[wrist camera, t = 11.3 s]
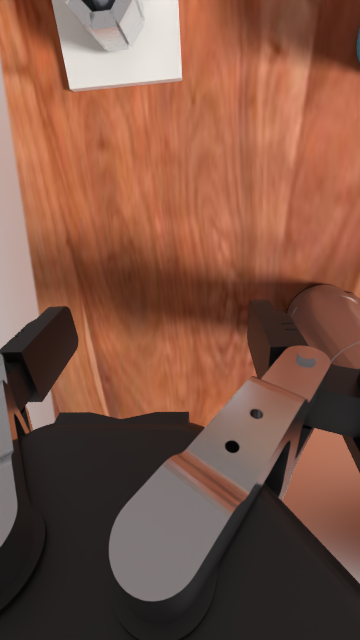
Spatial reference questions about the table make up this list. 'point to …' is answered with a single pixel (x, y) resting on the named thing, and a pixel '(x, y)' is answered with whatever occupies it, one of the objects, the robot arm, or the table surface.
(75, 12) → the ring
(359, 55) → the printed cylinder can
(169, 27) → the shaft block
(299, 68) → the table surface
